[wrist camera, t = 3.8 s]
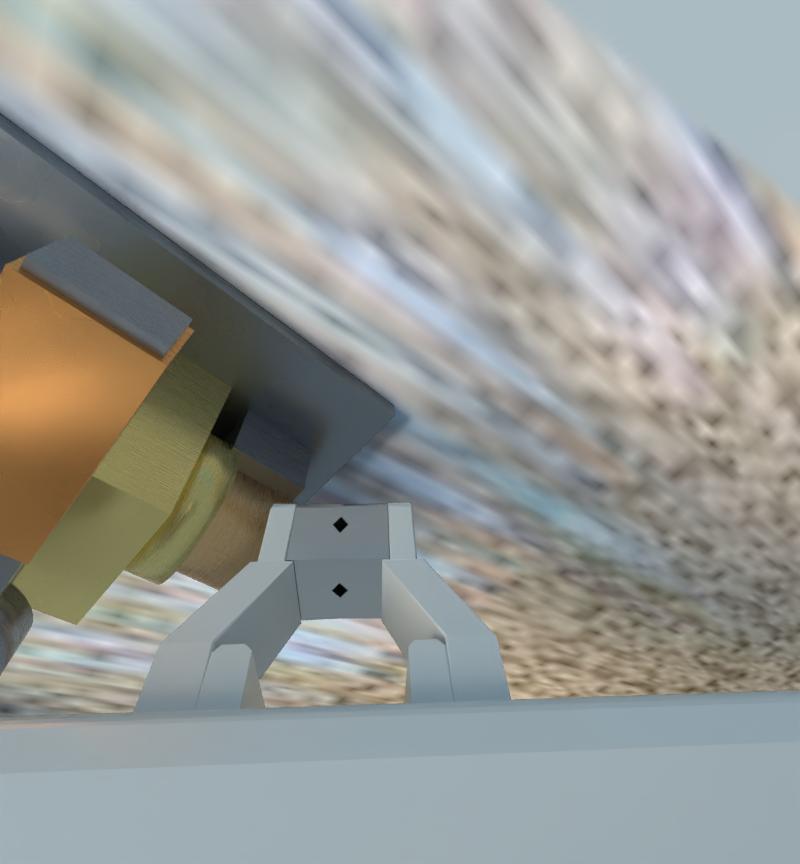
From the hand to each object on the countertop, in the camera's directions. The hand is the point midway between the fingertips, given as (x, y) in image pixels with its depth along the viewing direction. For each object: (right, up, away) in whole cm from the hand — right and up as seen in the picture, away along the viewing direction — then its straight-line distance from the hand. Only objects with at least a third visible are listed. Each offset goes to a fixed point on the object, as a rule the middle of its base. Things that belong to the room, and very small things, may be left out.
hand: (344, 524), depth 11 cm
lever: (-6, +1, -2) cm, 6 cm away
